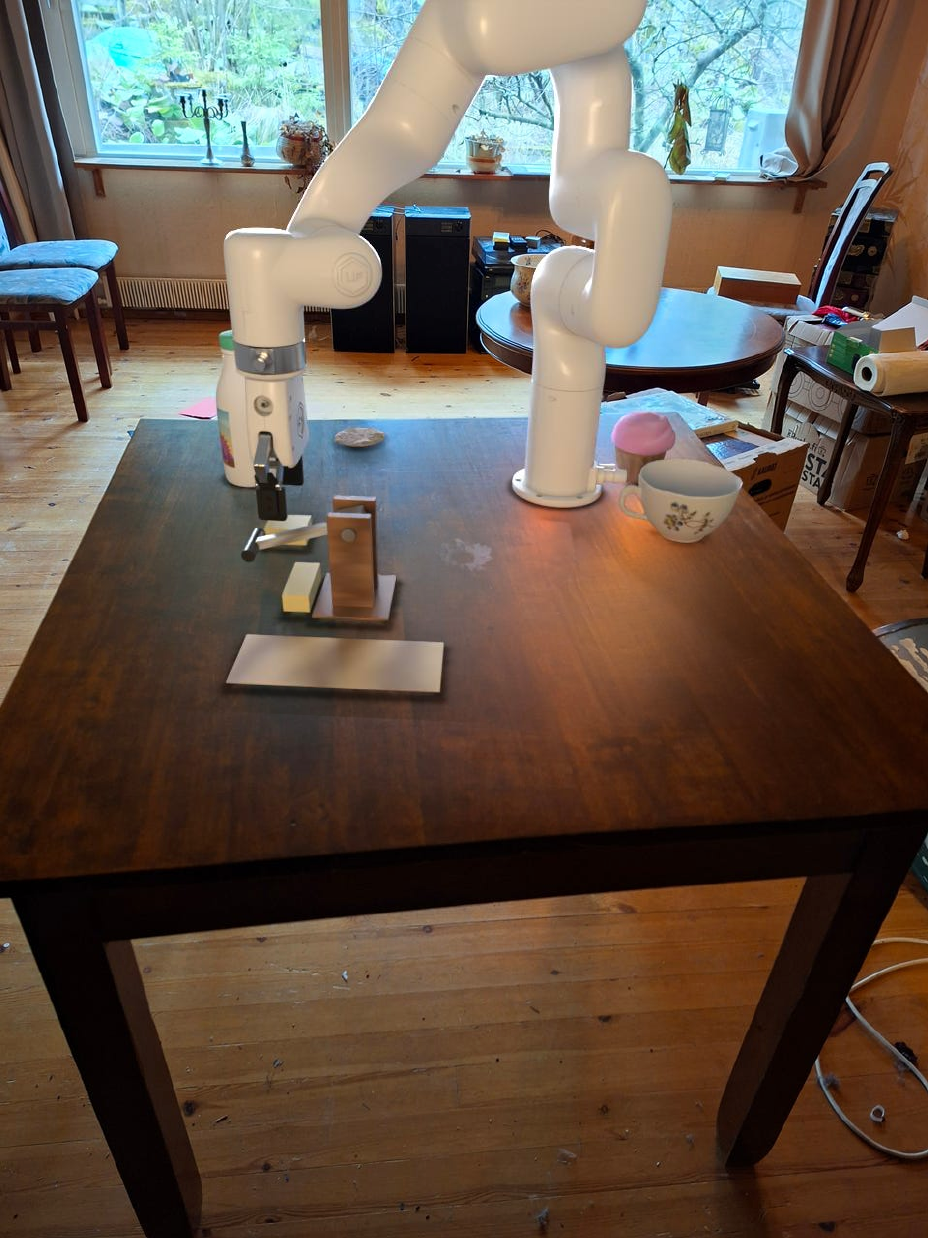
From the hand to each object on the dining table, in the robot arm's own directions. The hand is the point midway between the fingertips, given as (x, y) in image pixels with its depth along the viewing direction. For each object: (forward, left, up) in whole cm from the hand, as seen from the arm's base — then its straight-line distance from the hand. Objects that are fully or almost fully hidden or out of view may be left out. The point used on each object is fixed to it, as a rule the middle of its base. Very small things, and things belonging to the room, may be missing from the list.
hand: (282, 501), depth 99 cm
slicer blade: (-6, +13, +2) cm, 14 cm away
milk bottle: (+9, -19, -6) cm, 22 cm away
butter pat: (0, 0, -6) cm, 6 cm away
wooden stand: (-10, +13, -6) cm, 17 cm away
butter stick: (-5, +13, -6) cm, 15 cm away
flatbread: (-4, -34, -6) cm, 35 cm away
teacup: (-48, -7, -6) cm, 49 cm away
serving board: (-10, +25, -6) cm, 28 cm away
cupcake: (-46, -24, -6) cm, 53 cm away
